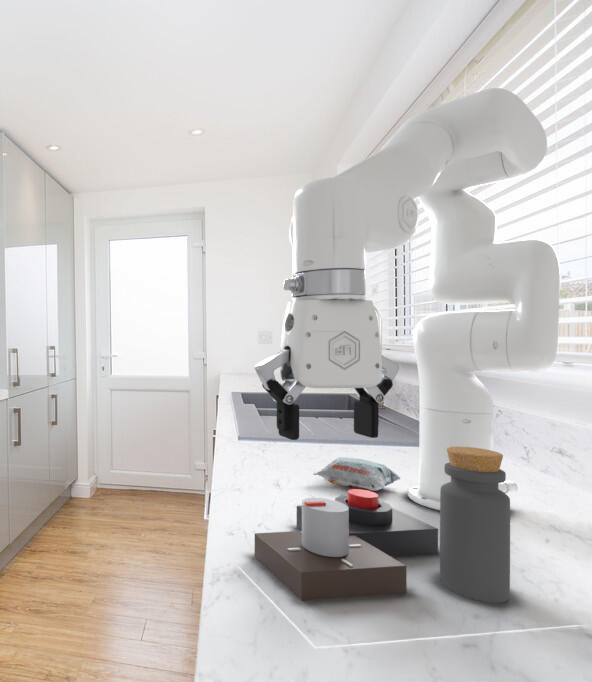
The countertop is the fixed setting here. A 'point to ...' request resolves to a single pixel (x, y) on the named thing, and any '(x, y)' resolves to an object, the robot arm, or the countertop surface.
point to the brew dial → (325, 527)
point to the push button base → (388, 529)
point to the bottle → (475, 526)
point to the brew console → (329, 568)
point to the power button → (363, 499)
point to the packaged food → (358, 474)
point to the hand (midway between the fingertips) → (327, 436)
